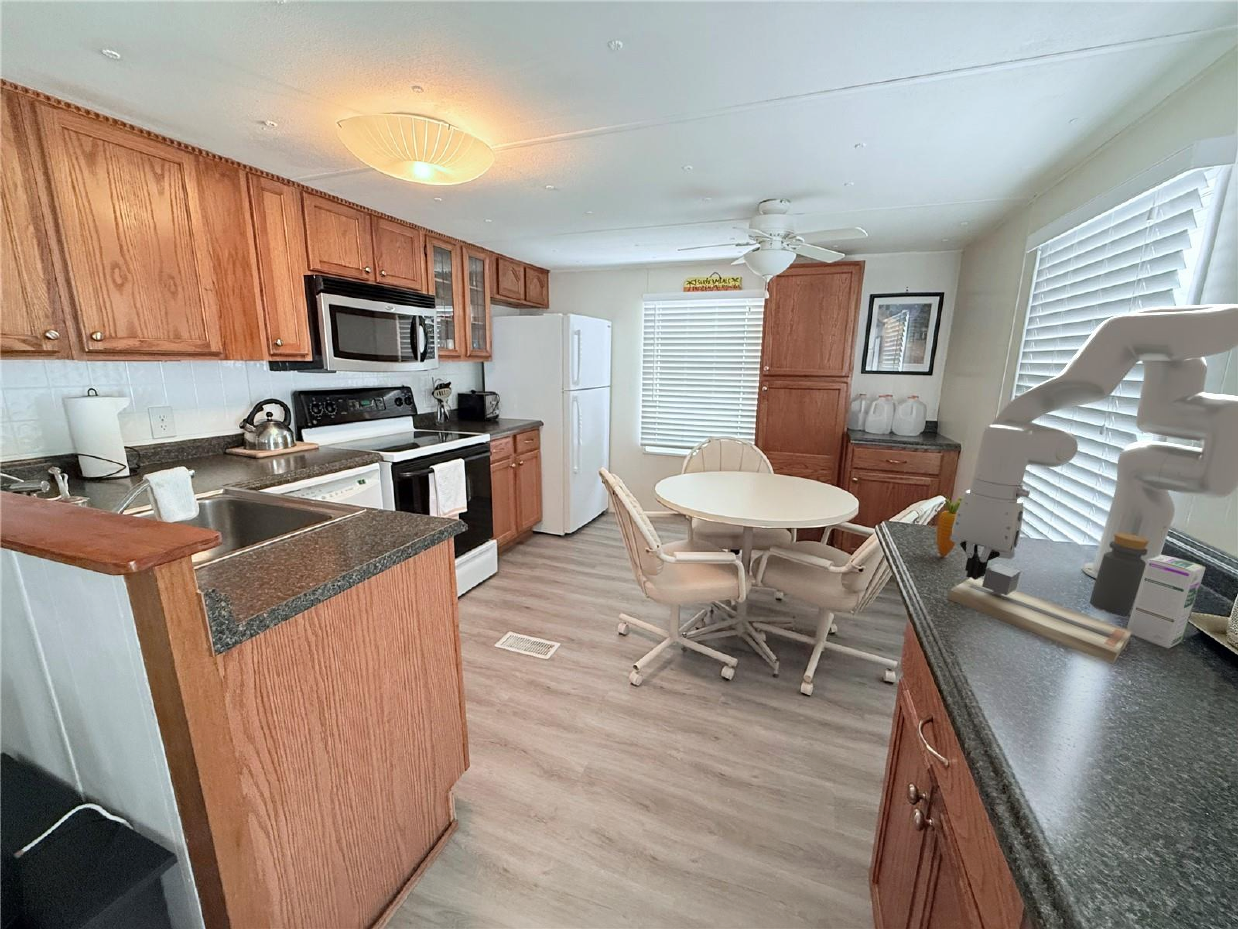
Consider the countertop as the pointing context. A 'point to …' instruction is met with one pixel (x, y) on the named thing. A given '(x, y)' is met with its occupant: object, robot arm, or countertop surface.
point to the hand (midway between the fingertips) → (973, 576)
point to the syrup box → (1165, 600)
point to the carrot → (946, 528)
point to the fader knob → (1001, 579)
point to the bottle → (1120, 574)
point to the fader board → (1045, 619)
